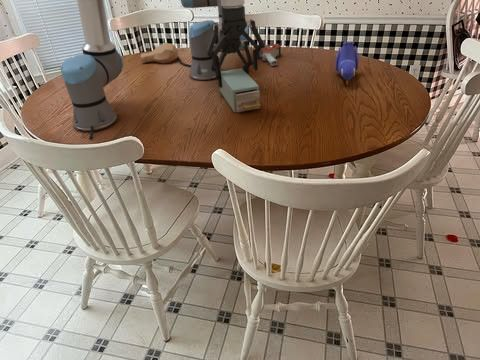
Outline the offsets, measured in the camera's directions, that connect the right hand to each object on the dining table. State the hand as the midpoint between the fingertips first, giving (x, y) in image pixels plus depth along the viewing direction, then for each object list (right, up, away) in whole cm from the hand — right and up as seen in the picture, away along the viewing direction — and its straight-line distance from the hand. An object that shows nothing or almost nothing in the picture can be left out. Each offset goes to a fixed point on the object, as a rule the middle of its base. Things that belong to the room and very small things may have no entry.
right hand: (233, 84), depth 148 cm
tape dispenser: (+17, +22, +35) cm, 45 cm away
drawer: (+4, -10, -9) cm, 14 cm away
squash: (-39, +23, +41) cm, 61 cm away
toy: (+49, +4, +8) cm, 50 cm away
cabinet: (+2, -7, -4) cm, 8 cm away
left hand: (+2, -2, -23) cm, 23 cm away
